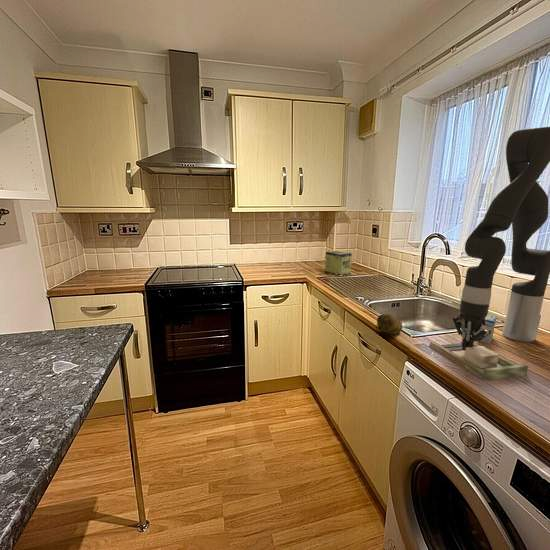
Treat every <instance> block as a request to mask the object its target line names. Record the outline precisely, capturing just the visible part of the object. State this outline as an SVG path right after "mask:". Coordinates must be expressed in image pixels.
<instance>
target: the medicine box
mask: <svg viewBox="0 0 550 550" xmlns="http://www.w3.org/2000/svg"><path fill="white" fill-rule="evenodd" d="M496 323H497V315H494V314H489V313H488V315H487V316H486V318H485V327H486V329H487V330H490V331H491V334H489V335H488V336H486V337H485V338H484V339H482V340H481V341H479V342H481V343H485V344H489V345H490V344H492V340H493V337H494V336H493V335H494V333H495V332H494V331H495V327H496Z"/></svg>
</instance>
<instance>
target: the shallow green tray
mask: <svg viewBox="0 0 550 550" xmlns="http://www.w3.org/2000/svg"><path fill="white" fill-rule="evenodd" d="M462 341H463V338H461V342H460V343H459V342H458V343H447V344H438V343H437V342H435V341H433V340H431V341H429V346H430V347H432V348H433V349H434V350H436V351H438V352H439V353H441V354H442V355H444V356H446V357H447V358H448V359H451V360H452V361H454V362H456V363H457V364H458V365H460V366H462V367H463V368H464V369H466V370H468V371H469V370H470V372H471V373H473V374H474V373H475V374H474V375H476V376H477V375H478V376H477V377H479V378H481V379H482V380H484V381H485V380H486V381H493V380H501V379H508V378H509V379H510V378H515V377H523V376H527V375H528V372H529V365H528V364H525V363H523V364H515V363H513V362H512V361H510V360H508V359H506V358H504V357H502V356H501V355H499V357H498V362H497V363H499V364H501V365H502V366H495V367H487V368H484V369H483V370H482V369H481V368H479V367H478V366H476V365H474V364H473V363H471V362H469V361H468V360H466V359H463V358H462V357H460V356H459V355H457V354H455V353H454V351H464V350H463V349H462ZM475 346H480V345H479V344H478V343H475V342H474V343H473V347H475Z"/></svg>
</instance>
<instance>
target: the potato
mask: <svg viewBox="0 0 550 550" xmlns="http://www.w3.org/2000/svg"><path fill="white" fill-rule="evenodd" d="M376 325H377V329H378V330H380V331H382V332H383V333H385V334H386V333H387V334H389V335H390V334H391V335H397V334H399V333H400V332H401V331H402V330H403V322H402V321H401V320H400V319H399V318H397V317H395V316H393V315H392V314H390V313H383V314H380V315H378V316H377V318H376Z"/></svg>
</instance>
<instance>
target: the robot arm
mask: <svg viewBox="0 0 550 550" xmlns="http://www.w3.org/2000/svg"><path fill="white" fill-rule="evenodd" d="M505 159H506V167H507V172H508V178H509V184H508V185H506V186H505V187H504V188H503V189H501V191H499V192H498V193H497V194H496V196H494V198H493V199H492V200H491V203H490V204H489V207H488V209H487V210H486V213H485V215H484V217H483V220H481V222H480V223H479V224H477V226H476V227H475V229H474V230H473V231H472V232H471V234H470V235H469V236H468V237H467V239H466V241H465V243H464V251H465V254H466V255H467V256H468V257H471V258H474V259H478V260H479V259H480V260H481V261H480V262H479V265H472V266H470V267H468V268H467V269H466V274H465V279H464V280H465V281H464V284H463V288H462V291H461V297H460V298H461V299H460V303H459V310H458V311H459V316H455V317H453V318H452V321H453V323H454V326H455V329H456V331H457V334H458V335H459V336H461V339H463V341H462V340H461V343H462V346H461V347H462V349H463V350H462V351H465V350H466V347H473V343H475V342H480V341H481V340H482V339H484V338H485V337H486V336H488V335H489V334H491V331H490V330H487V329H486V327H485V318H486V316H487V315H488V314H489V308H490V304H491V298H492V286H493V281H494V276H495V274H496V272H497V270H498V268H499V266H500V264H501V262H502V260H503V259H504V257H505V255H506V251H507V250H506V249H507V246H506V243H505V241H504V239H502V238H501V237H497V236H495V234H497V233H500V232H506V231H508V230H509V229H510V227H511V228H512V244H511V245H512V247H511V259H510V260H511V263H510V264H511V268H512V269H511V270H513V272H514V273H518V274H523V275H529V276H534V277H533V279H532V280H529V281H518V282H515V283H513V284H512V285H511V288H510V289H511V290H510V296H509V300H508V305H507V311H506V314H505V315H506V316H505V321H504V326H503V329H502V335H503V336H504V337H505V338H507V339H508V338H509V339H511V340H513V341H518V342H521V343H522V342H523V343H524V342H525V343H532V342H534V341H535V340H536V339H537V335H538V331H539V327H540V323H541V318H542V316H541V311H542V306H543V302H544V297H545V293H546V290H547V286H548V282H549V277H550V250H547V249H538V248H537V249H536V248H528V247H527V243H528V241H529V240H530V238H531V237H532V236H533V235H534V234H535V233H536V232H537V231H538V230H540V229H541V227H543V225H544V224H545V223H546V221H548V218H549V196H548V194H547V193H546V192H545V190H544V188H543V187H542V186H541V185H540V184H539V183H538V182H537V181H538V179H540V177H541V175H543V172H544V171H545V170H546V168H547V166H548V165H549V163H550V126H544V127H543V126H542V127H535V128H525V129H519V130H516V131H513V132H512V133H511V134H510V135H509V137H508V139H507V142H506V145H505Z"/></svg>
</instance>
